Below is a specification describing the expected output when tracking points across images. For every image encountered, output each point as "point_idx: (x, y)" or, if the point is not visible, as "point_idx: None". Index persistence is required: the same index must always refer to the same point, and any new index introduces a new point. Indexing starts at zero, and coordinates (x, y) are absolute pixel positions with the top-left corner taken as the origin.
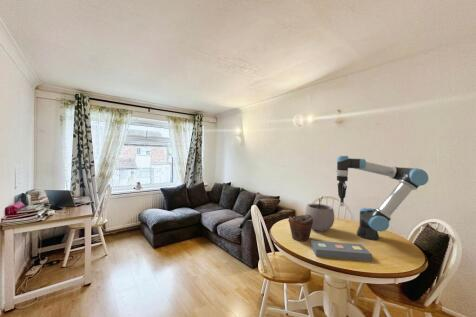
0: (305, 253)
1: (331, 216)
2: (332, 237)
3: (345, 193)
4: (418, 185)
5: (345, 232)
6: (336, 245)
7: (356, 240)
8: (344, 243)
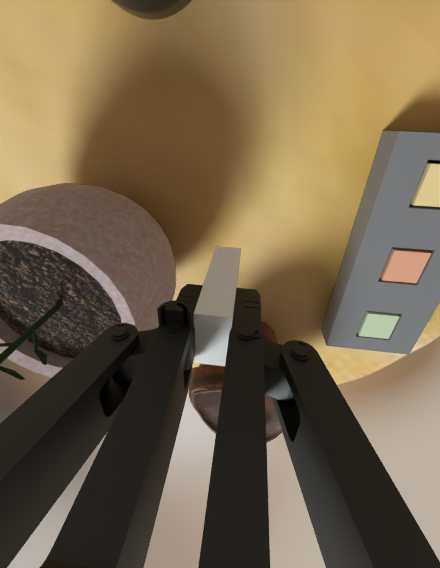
0: (371, 357)
1: (137, 240)
2: (216, 214)
3: (368, 447)
4: None
5: (116, 95)
6: (392, 275)
7: (241, 79)
8: (374, 227)
